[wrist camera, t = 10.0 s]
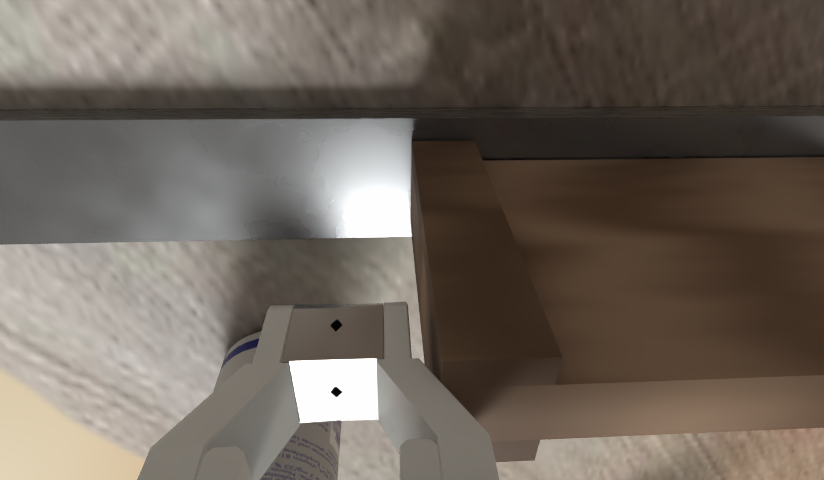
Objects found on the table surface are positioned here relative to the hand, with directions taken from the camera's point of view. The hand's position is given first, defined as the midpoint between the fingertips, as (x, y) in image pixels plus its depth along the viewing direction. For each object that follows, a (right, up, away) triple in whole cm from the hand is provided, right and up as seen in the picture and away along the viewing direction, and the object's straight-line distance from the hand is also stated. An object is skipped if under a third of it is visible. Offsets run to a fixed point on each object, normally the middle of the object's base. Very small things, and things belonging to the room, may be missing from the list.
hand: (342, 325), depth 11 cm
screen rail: (+1, +4, +6) cm, 8 cm away
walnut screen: (+9, +4, +6) cm, 11 cm away
